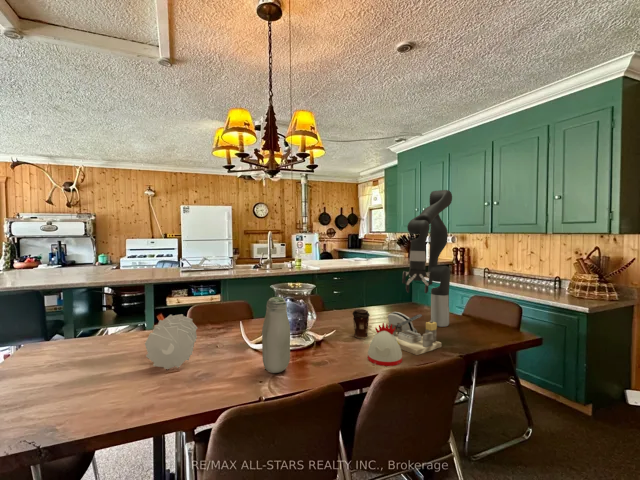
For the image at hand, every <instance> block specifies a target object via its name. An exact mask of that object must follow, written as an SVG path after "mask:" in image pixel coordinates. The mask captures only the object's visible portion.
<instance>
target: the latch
mask: <svg viewBox="0 0 640 480" xmlns="http://www.w3.org/2000/svg"><path fill="white" fill-rule="evenodd" d="M437 328H438V326H437V323H436V322H433V321H431V320H429V321H428V322H427V321H426V322H425V330H426V329H427V330H430V331H432V330H436V331H437Z"/></svg>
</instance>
